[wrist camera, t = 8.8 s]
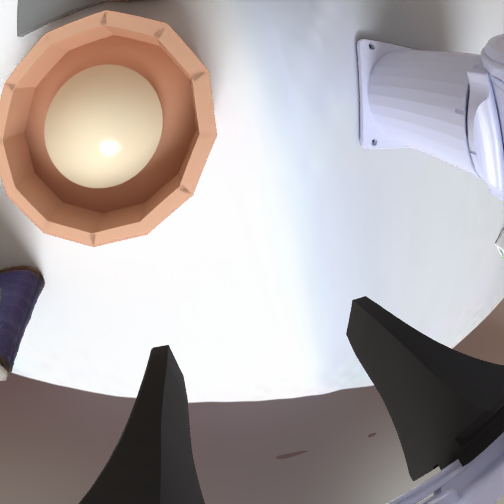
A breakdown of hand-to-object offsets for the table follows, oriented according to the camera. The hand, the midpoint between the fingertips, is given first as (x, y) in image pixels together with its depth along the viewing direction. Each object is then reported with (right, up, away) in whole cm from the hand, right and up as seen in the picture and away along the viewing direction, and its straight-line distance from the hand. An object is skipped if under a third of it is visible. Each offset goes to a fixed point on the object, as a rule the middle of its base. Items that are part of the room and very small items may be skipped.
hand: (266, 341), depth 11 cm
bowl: (-9, +11, +3) cm, 14 cm away
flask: (-21, +1, +7) cm, 22 cm away
